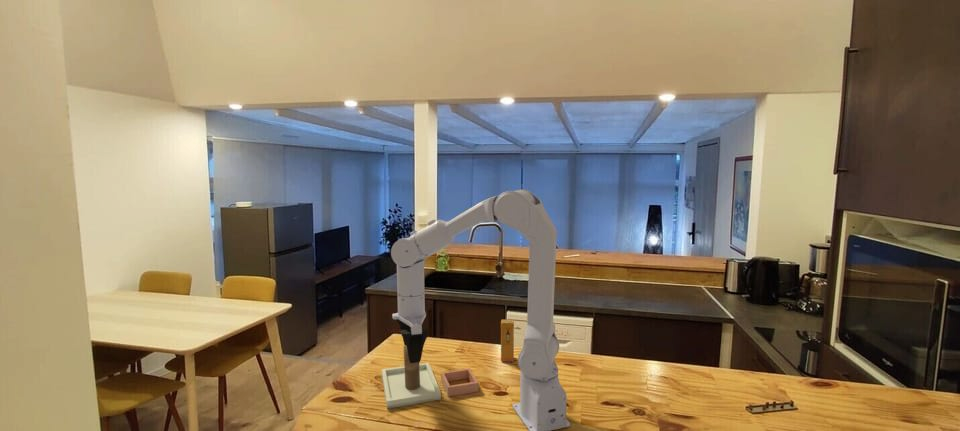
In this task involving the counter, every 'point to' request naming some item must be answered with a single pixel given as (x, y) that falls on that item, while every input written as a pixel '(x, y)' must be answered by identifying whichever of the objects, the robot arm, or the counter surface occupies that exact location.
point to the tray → (402, 396)
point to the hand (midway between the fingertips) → (412, 354)
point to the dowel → (411, 372)
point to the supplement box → (507, 341)
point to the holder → (459, 388)
